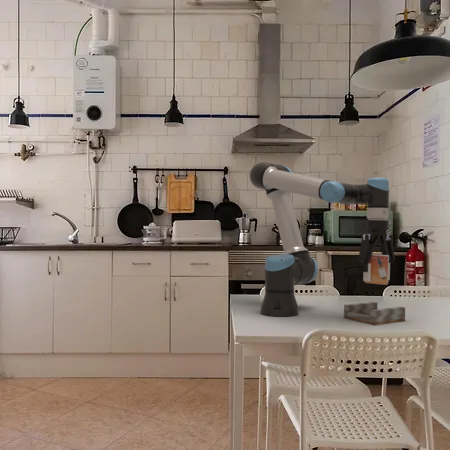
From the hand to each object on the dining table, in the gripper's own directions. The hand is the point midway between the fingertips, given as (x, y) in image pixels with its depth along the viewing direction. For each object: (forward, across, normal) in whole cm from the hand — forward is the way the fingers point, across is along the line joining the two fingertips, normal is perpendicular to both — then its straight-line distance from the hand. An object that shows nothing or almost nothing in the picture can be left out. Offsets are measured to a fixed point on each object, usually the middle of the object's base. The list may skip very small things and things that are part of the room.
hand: (376, 280), depth 167 cm
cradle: (+15, +2, +2) cm, 15 cm away
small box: (+1, 0, 0) cm, 1 cm away
